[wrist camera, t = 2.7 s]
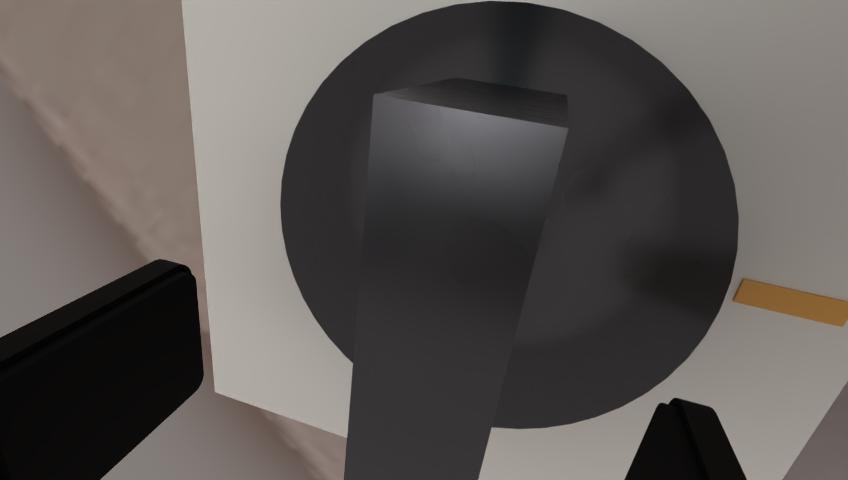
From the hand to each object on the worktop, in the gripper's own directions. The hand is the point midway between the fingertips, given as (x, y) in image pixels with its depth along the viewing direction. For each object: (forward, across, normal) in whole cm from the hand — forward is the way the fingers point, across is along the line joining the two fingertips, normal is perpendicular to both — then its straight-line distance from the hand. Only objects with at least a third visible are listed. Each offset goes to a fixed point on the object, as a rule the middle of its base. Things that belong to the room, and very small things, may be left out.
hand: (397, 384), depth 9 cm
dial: (+8, -1, 0) cm, 8 cm away
